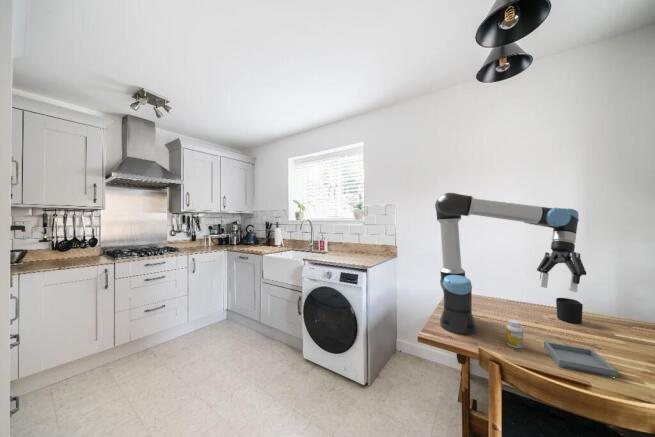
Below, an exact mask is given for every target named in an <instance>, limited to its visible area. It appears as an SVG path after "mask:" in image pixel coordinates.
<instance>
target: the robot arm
mask: <svg viewBox="0 0 655 437" xmlns="http://www.w3.org/2000/svg"><path fill="white" fill-rule="evenodd" d="M434 208H435V211H436V212H435V214H436V221H437V222H439V224H440V238H441V241H440V242H441V254H442V268H441V269H440V270H439V272H440V281H439V282H440V287H441V289H442V292H443V310H442V312H441V315H440V318H439V325H440V327H441V328H442V329H444V330H447V331H448V332H450V333H453V334H458V335H473V334H475V333H476V332H477V325H476V321H475V319H474V316H473V315H474V314H473V312H472V311H473V309H472V304H473V302H472V300H473V299H472V297H473V295H472V291H473V290H472V289H473V285H472V282H471V279H470V278H468V277H466V271H465V270H464V269H463V268H462V258H461V257H462V256H461V255H462V254H461V243H460V231H459V228H460V227H459V222H460V221H461V219H462V216H463V217H464V216H465V217H469V216H471V215H473V216H478V217H485V218H494V219H501V220H505V221H506V220H507V221H514V222H521V223H524V224H529V225H533V226H539V227H543V228H545V227H546V228H550V229H551V228H552V229H553V230H552V237H551V244H550V249H551V251H552V252H545V253H544V256H543V258H542V260H541V261H540V263H539V265H538V267H537V269H536V271H537V272H539V273H540V275H539V279H540V281H539V287H541V288H545V289H548V282H549V276H550V274H549V272H550V271H551V270H552V269H553V268H554V267H555V266H556V265H558V264H565V265H566V266H567V268H568V270H569V271H570V272H571V274H570V275H569V283H568V284H569V285H568V291H570V292H573V293H578V285H579V284H580V280H581V277H582V276H587V271H586V268H585V266H584V264H583V261H582V259H581V253H579V252H575V247H576V245H575V243H576V240H577V239H576V238H577V231H578V224H579V221H580V220H579V215H580V214H579V212H578V210H576V209H574V208H564V207H563V208H562V207H544V206H538V205H528V204H521V203H513V202H505V201H498V200H497V201H496V200H489V199H488V200H487V199H480V198H474V196H472V195H467V194H461V193H456V192H446V193H444V194H442V195H440V196H439V197H438V198H437V199H436V201H435V204H434Z"/></svg>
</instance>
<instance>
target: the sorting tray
mask: <svg viewBox="0 0 655 437" xmlns="http://www.w3.org/2000/svg"><path fill="white" fill-rule="evenodd" d="M543 348H544V349H545V351H546V352H547V354H548V355H549V356H550V358H552V360H553V361H554V363H555V364H556V365H557V366H558V367H559V368H562V369H569V370H572V371H577V372H582V373H587V374H592V375H597V376H601V377H607V378H611V377H615V378H614V379H616V378H617V379H618V370H617V369H616V368H615V367H614V366H612V365H611V364H610V363H609V362H608V361H607V360H606V359H604V358H603V357H602V356H601V355H600V354H599V353H597V352H596V351H595V350H594V349H593V348H586V347H581V346H576V345H575V346H574V345H569V344H564V343H557V342H552V341H548V340H543Z"/></svg>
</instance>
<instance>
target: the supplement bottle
mask: <svg viewBox="0 0 655 437" xmlns="http://www.w3.org/2000/svg"><path fill="white" fill-rule="evenodd" d="M507 322H508V324H506V326H505V329H506V330H505V334H506V335H505V340H506V341H505V342H506V344H507V345H508V346H510V347H512V348H515V349H523V348H524V329H523V328H522V327H521V326H522V324H521V321H520V320H518V319H512V318H511V319H510V318H509V319H508V320H507Z"/></svg>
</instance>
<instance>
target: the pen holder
mask: <svg viewBox="0 0 655 437" xmlns="http://www.w3.org/2000/svg"><path fill="white" fill-rule="evenodd" d="M555 303H556V304H555V305H556V318H557V319H558V320H559V321H561V322H564V323H568V324H573V325H574V324H575V325H580V324H582V323H583V308H584V306H583V305H584V304H583V303H581V302H580V301H578V300H576V299H574V298H567V297H556V298H555Z"/></svg>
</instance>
